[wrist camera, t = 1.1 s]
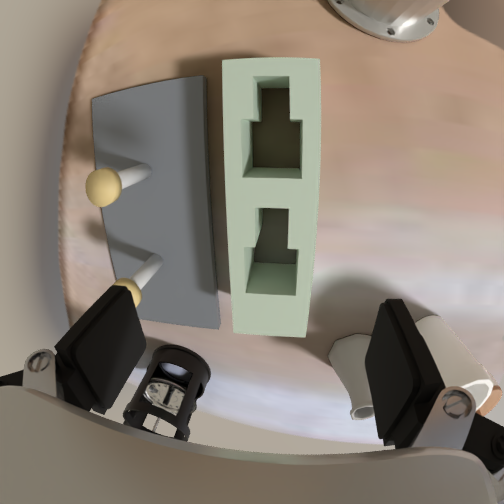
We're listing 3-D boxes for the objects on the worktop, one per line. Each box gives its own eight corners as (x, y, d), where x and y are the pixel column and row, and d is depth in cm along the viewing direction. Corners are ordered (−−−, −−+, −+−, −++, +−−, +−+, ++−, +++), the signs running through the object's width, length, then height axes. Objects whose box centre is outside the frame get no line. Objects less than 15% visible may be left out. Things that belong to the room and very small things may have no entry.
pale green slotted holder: (237, 74, 22) (222, 60, 17) (313, 74, 21) (319, 58, 16) (243, 299, 32) (233, 332, 27) (304, 302, 31) (305, 337, 26)
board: (98, 99, 24) (41, 99, 16) (206, 77, 22) (167, 57, 14) (131, 311, 36) (99, 354, 28) (220, 323, 34) (201, 377, 26)
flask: (326, 371, 36) (329, 431, 27) (328, 334, 33) (334, 398, 24) (375, 366, 34) (387, 424, 25) (383, 329, 31) (402, 389, 22)
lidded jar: (434, 404, 37) (445, 443, 29) (443, 370, 34) (460, 414, 25) (479, 385, 35) (494, 420, 26) (492, 349, 31) (514, 387, 22)
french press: (188, 336, 36) (120, 489, 15) (226, 379, 39) (187, 519, 18) (135, 353, 40) (69, 469, 19) (171, 390, 43) (125, 502, 22)
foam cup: (423, 364, 33) (447, 433, 22) (381, 348, 33) (401, 429, 21) (464, 317, 29) (504, 384, 17) (426, 295, 29) (469, 372, 17)
